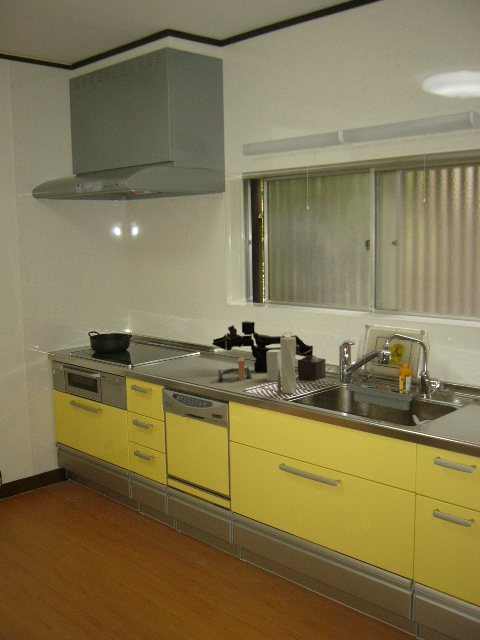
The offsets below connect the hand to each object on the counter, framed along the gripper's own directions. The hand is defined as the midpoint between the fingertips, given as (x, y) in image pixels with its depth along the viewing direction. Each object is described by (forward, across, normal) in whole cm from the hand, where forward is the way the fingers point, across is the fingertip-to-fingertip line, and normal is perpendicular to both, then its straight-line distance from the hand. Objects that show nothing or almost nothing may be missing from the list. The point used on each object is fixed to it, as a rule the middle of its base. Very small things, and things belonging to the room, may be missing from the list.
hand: (212, 342), depth 353 cm
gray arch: (-11, +19, +16) cm, 28 cm away
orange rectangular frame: (-15, +16, +17) cm, 27 cm away
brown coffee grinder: (-48, +20, +17) cm, 55 cm away
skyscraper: (-36, +46, +17) cm, 61 cm away
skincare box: (-31, +20, +17) cm, 41 cm away
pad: (-7, +19, +16) cm, 26 cm away
